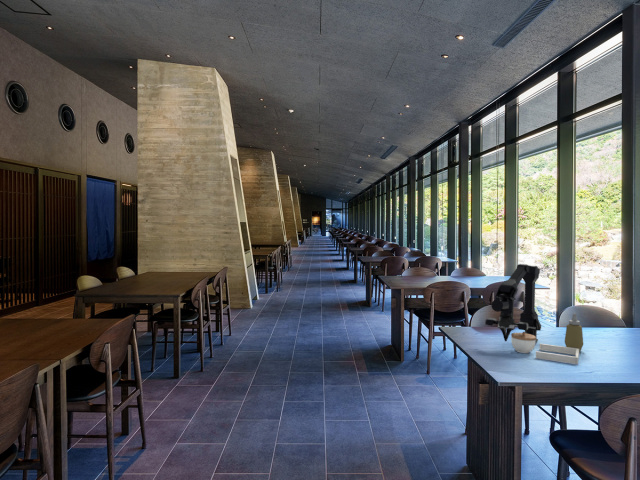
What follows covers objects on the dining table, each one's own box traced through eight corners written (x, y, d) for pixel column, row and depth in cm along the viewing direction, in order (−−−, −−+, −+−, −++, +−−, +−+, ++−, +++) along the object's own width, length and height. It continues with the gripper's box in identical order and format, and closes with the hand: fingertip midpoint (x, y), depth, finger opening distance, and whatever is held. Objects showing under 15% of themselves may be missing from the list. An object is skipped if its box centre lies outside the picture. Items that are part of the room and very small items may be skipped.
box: (539, 349, 211) (539, 343, 211) (579, 355, 202) (579, 348, 202) (535, 358, 197) (535, 351, 197) (577, 364, 188) (577, 357, 188)
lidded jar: (534, 356, 200) (535, 336, 199) (509, 351, 205) (510, 332, 205) (536, 350, 209) (537, 331, 209) (512, 346, 214) (513, 328, 214)
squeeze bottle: (581, 348, 213) (582, 312, 213) (585, 353, 206) (586, 315, 205) (562, 347, 216) (563, 311, 215) (566, 351, 208) (567, 314, 208)
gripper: (483, 309, 209) (482, 341, 210) (525, 314, 199) (524, 348, 199) (488, 306, 218) (487, 337, 219) (529, 311, 208) (527, 343, 209)
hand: (505, 341), depth 211 cm, fingers closed
